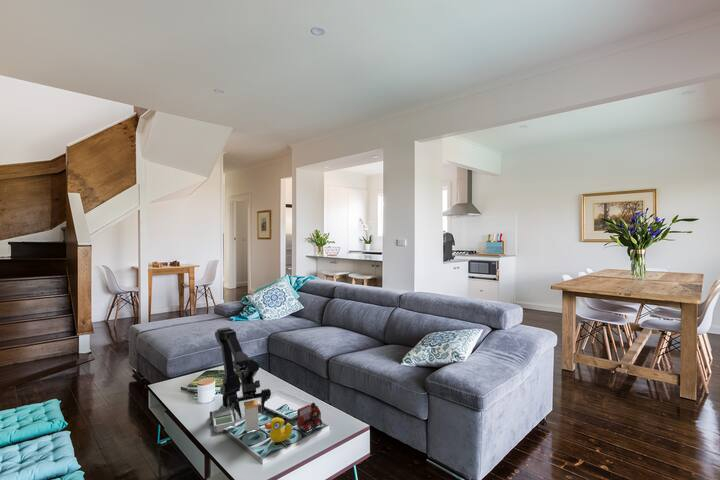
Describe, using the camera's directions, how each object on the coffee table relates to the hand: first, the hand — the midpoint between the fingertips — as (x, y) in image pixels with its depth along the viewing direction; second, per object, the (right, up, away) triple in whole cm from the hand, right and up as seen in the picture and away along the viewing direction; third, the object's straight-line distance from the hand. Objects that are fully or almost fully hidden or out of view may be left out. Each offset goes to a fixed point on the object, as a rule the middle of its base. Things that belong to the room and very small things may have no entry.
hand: (251, 416), depth 167 cm
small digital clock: (-16, -7, +9) cm, 19 cm away
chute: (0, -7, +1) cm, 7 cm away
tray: (+9, -7, +22) cm, 25 cm away
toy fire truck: (+26, -6, +2) cm, 26 cm away
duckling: (+14, -7, -9) cm, 18 cm away
